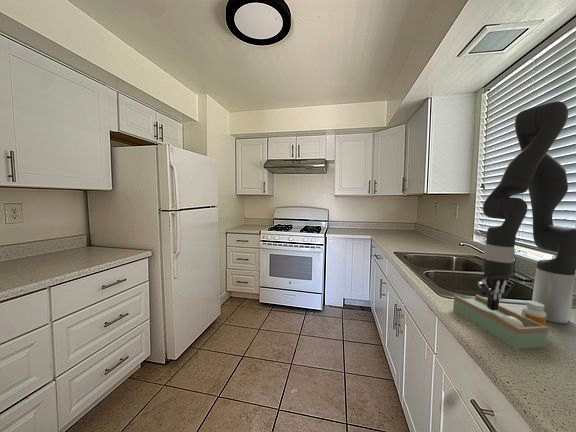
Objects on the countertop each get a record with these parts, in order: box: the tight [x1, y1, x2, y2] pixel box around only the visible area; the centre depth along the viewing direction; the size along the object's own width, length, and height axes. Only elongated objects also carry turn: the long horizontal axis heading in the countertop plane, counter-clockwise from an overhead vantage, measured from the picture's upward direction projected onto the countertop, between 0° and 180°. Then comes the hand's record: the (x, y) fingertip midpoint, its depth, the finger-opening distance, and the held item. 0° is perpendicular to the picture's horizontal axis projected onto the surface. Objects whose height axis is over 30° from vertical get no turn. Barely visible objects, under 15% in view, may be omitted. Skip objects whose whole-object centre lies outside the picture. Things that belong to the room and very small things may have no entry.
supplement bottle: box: [521, 300, 547, 326], centre depth 76 cm, size 5×5×10 cm
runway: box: [452, 294, 549, 350], centre depth 78 cm, size 10×22×6 cm, turn 8°
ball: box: [501, 316, 524, 327], centre depth 73 cm, size 6×6×6 cm
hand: (492, 309), depth 79 cm, fingers closed
